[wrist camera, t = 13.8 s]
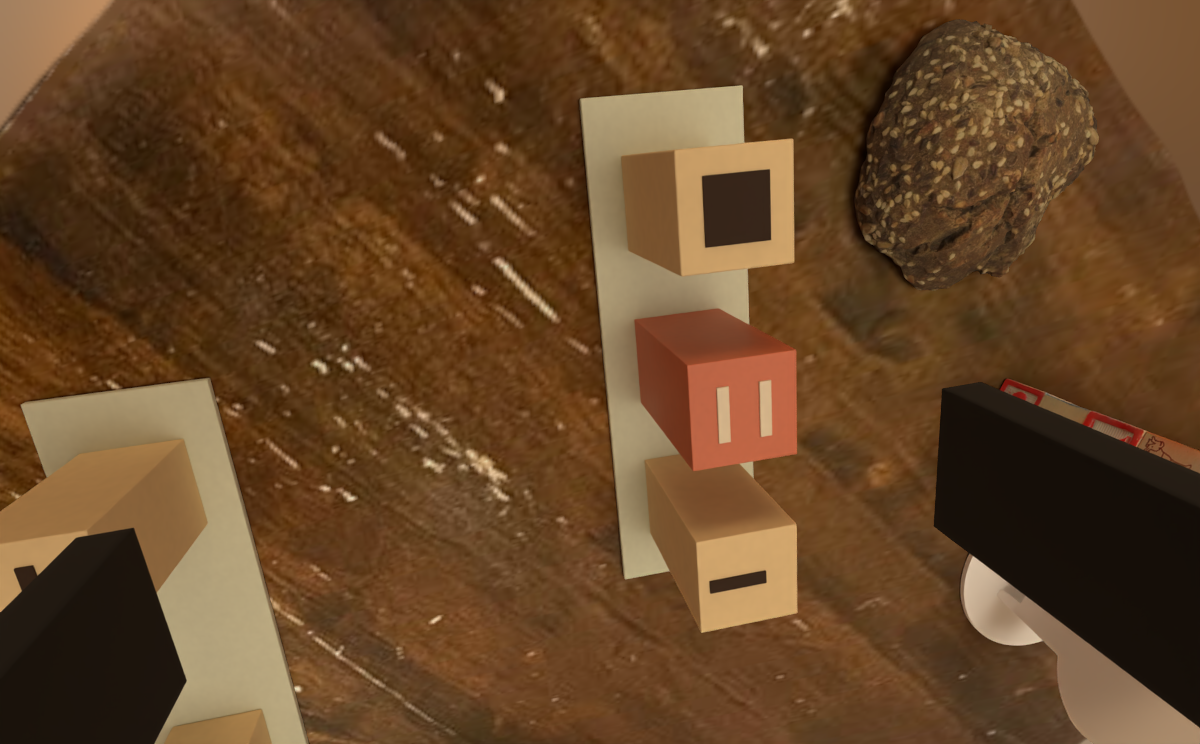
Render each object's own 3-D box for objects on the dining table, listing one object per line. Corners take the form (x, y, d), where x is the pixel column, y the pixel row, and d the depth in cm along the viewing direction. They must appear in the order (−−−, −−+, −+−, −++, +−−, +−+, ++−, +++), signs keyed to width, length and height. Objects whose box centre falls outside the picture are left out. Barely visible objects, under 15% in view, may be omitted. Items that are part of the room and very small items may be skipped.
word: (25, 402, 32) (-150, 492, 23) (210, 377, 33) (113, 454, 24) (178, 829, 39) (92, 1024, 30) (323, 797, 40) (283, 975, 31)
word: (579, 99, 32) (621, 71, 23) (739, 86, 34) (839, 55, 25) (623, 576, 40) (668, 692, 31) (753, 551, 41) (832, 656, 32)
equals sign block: (634, 319, 35) (687, 365, 27) (719, 308, 36) (797, 350, 28) (640, 402, 37) (693, 473, 28) (722, 390, 38) (798, 455, 29)
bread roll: (936, -12, 34) (1011, -41, 29) (1100, 118, 38) (1190, 110, 33) (803, 222, 36) (853, 229, 31) (970, 323, 40) (1038, 344, 35)
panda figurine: (1027, 673, 48) (1260, 881, 34) (921, 607, 45) (1131, 807, 31) (1141, 540, 47) (1434, 699, 33) (1040, 461, 43) (1318, 600, 29)
